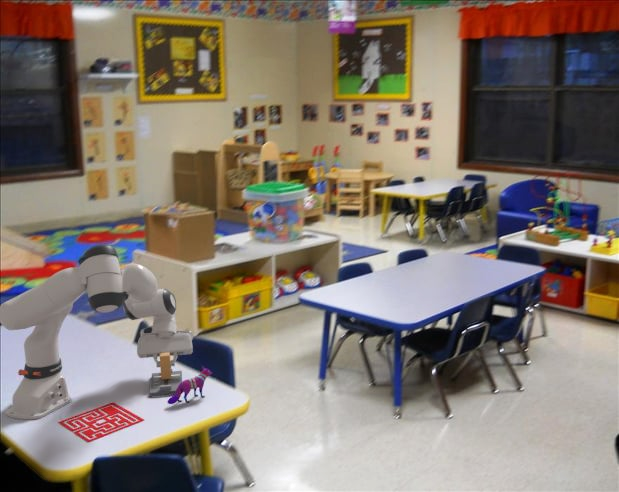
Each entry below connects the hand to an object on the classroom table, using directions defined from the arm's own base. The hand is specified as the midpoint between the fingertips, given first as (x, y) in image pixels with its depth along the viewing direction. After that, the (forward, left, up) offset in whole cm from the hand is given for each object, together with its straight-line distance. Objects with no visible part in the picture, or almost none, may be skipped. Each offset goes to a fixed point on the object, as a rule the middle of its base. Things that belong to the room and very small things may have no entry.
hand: (165, 366), depth 265 cm
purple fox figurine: (-12, -15, -7) cm, 20 cm away
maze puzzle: (-33, +7, -7) cm, 35 cm away
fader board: (-2, -1, -6) cm, 7 cm away
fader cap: (+1, 0, -5) cm, 5 cm away
